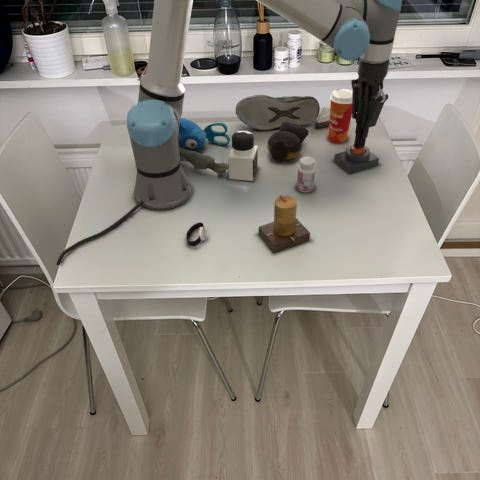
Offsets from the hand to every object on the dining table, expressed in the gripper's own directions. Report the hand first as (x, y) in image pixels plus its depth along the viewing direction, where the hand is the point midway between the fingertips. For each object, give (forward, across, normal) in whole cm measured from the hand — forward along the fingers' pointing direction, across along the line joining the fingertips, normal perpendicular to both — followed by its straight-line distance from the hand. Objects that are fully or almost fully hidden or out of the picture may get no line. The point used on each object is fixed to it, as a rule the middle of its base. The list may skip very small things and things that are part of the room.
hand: (359, 146), depth 135 cm
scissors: (+1, +26, +29) cm, 39 cm away
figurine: (+1, +10, +21) cm, 23 cm away
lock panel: (+5, -20, +36) cm, 42 cm away
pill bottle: (+5, -4, +20) cm, 21 cm away
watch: (+5, -10, +56) cm, 57 cm away
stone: (+7, +24, -7) cm, 26 cm away
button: (+2, 0, 0) cm, 2 cm away
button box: (+5, 0, 0) cm, 5 cm away
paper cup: (+5, +14, -3) cm, 16 cm away
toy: (-4, +34, +41) cm, 53 cm away
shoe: (0, +29, +10) cm, 30 cm away
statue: (+1, +35, +53) cm, 63 cm away
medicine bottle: (+5, +11, +32) cm, 34 cm away
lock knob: (+3, -20, +36) cm, 41 cm away
